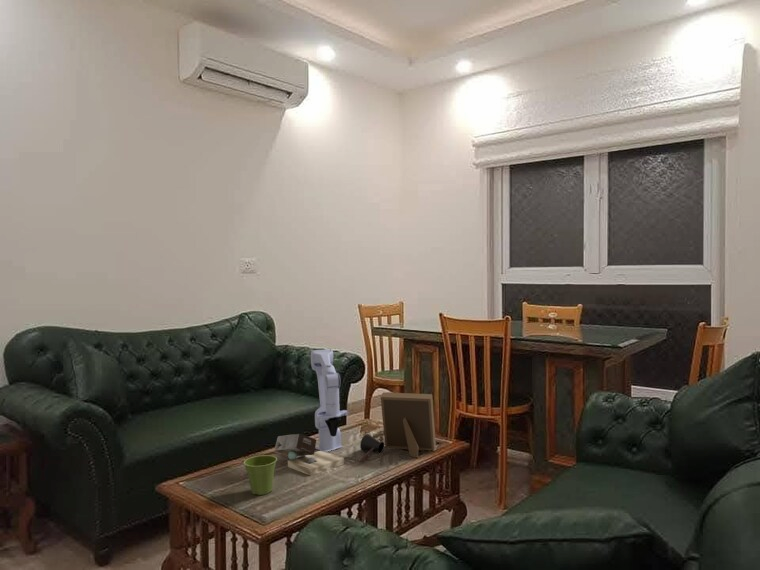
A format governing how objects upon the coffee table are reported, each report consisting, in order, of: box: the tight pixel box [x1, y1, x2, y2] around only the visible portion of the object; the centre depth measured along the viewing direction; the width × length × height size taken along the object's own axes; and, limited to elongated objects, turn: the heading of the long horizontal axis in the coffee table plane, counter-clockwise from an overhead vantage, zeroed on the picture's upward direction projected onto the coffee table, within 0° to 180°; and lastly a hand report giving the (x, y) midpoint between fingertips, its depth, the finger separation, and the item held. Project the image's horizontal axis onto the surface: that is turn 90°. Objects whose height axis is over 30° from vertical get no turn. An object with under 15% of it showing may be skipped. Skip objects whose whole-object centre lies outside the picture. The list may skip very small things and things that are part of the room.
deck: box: [287, 450, 345, 477], centre depth 226 cm, size 17×15×2 cm
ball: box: [306, 459, 314, 464], centre depth 224 cm, size 3×3×3 cm
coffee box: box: [274, 432, 317, 457], centre depth 231 cm, size 9×6×16 cm
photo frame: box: [380, 391, 437, 458], centre depth 240 cm, size 15×22×25 cm
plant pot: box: [243, 454, 278, 496], centre depth 200 cm, size 12×12×11 cm
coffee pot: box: [357, 433, 385, 463], centre depth 237 cm, size 8×18×8 cm
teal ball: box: [287, 451, 298, 460], centre depth 226 cm, size 3×3×3 cm
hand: (333, 435), depth 231 cm, fingers closed
